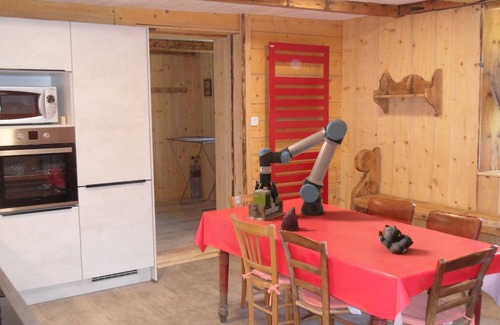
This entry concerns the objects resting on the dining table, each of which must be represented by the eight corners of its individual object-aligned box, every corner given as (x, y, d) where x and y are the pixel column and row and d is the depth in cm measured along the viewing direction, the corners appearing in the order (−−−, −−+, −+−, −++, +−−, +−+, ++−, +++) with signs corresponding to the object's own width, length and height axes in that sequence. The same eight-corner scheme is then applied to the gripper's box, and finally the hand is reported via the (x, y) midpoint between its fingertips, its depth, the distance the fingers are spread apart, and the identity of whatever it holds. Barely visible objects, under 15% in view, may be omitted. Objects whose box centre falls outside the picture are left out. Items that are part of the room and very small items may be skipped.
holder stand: (284, 214, 356) (283, 200, 354) (263, 221, 337) (262, 206, 336) (269, 212, 363) (268, 198, 362) (247, 219, 344) (247, 204, 343)
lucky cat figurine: (400, 256, 257) (385, 230, 258) (383, 260, 267) (369, 235, 268) (418, 241, 265) (404, 216, 266) (401, 246, 275) (388, 222, 276)
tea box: (266, 209, 359) (266, 186, 357) (278, 211, 353) (279, 188, 351) (252, 213, 347) (252, 190, 345) (265, 215, 341) (265, 192, 339)
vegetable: (299, 233, 318) (306, 208, 317) (293, 235, 309) (300, 209, 307) (283, 227, 322) (290, 203, 321) (277, 229, 313) (284, 204, 312)
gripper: (247, 172, 351) (248, 206, 353) (276, 174, 337) (277, 210, 339) (254, 171, 357) (255, 204, 359) (283, 173, 343) (284, 207, 345)
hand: (266, 207), depth 349 cm, fingers open, 10 cm apart
